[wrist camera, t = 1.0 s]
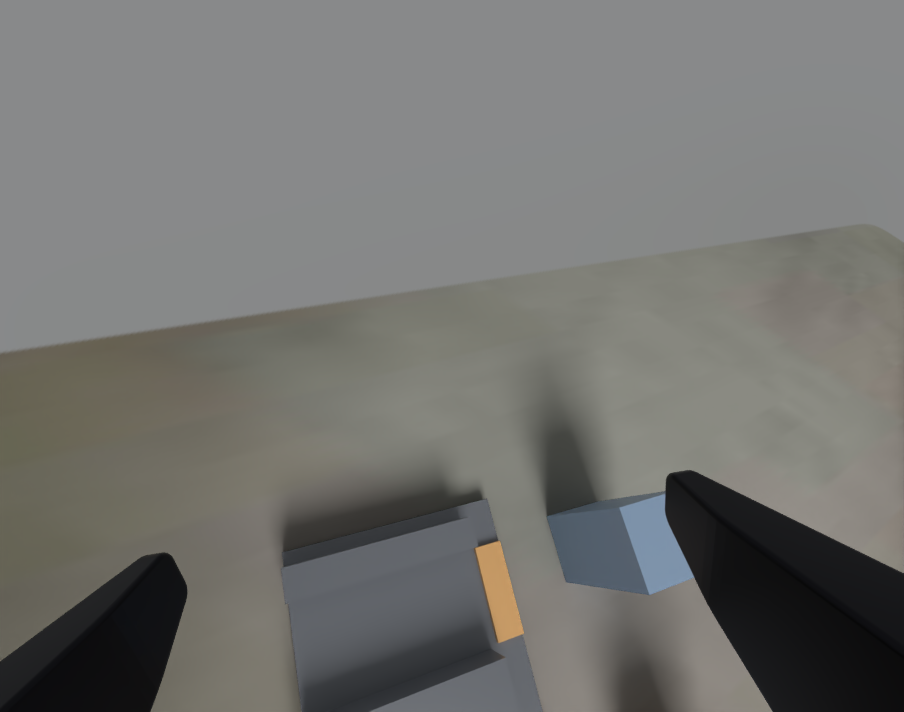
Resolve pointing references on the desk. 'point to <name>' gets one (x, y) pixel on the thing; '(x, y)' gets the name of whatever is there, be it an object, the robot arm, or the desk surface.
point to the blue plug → (620, 545)
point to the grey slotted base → (409, 619)
